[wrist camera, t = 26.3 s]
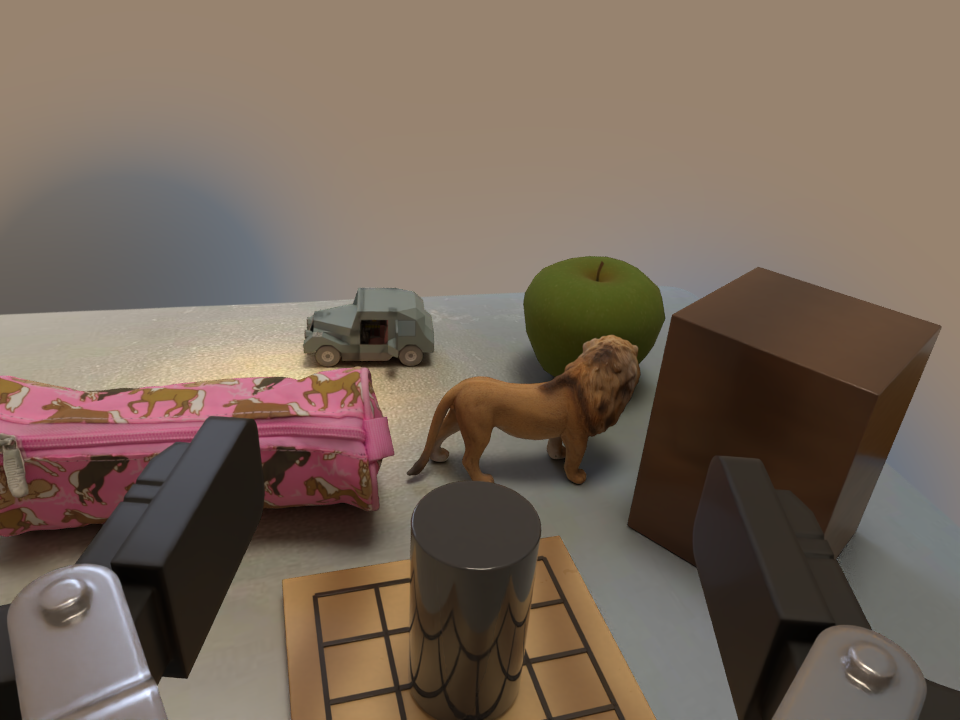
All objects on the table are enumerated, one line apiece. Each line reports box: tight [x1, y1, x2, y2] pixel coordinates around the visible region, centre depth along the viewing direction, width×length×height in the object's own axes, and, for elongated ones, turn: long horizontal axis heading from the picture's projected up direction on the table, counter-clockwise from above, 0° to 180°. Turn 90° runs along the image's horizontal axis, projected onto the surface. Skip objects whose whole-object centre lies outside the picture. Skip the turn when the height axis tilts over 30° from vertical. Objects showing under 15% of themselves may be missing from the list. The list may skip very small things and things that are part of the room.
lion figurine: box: [407, 335, 640, 484], centre depth 46 cm, size 15×5×9 cm, turn 107°
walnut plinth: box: [627, 267, 941, 567], centre depth 41 cm, size 10×10×14 cm
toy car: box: [303, 288, 434, 367], centre depth 57 cm, size 6×10×5 cm, turn 97°
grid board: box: [282, 536, 656, 720], centre depth 33 cm, size 15×15×1 cm
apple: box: [523, 256, 665, 377], centre depth 56 cm, size 11×10×10 cm
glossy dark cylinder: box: [408, 481, 541, 720], centre depth 30 cm, size 5×5×9 cm
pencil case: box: [0, 366, 394, 537], centre depth 41 cm, size 21×9×9 cm, turn 99°
